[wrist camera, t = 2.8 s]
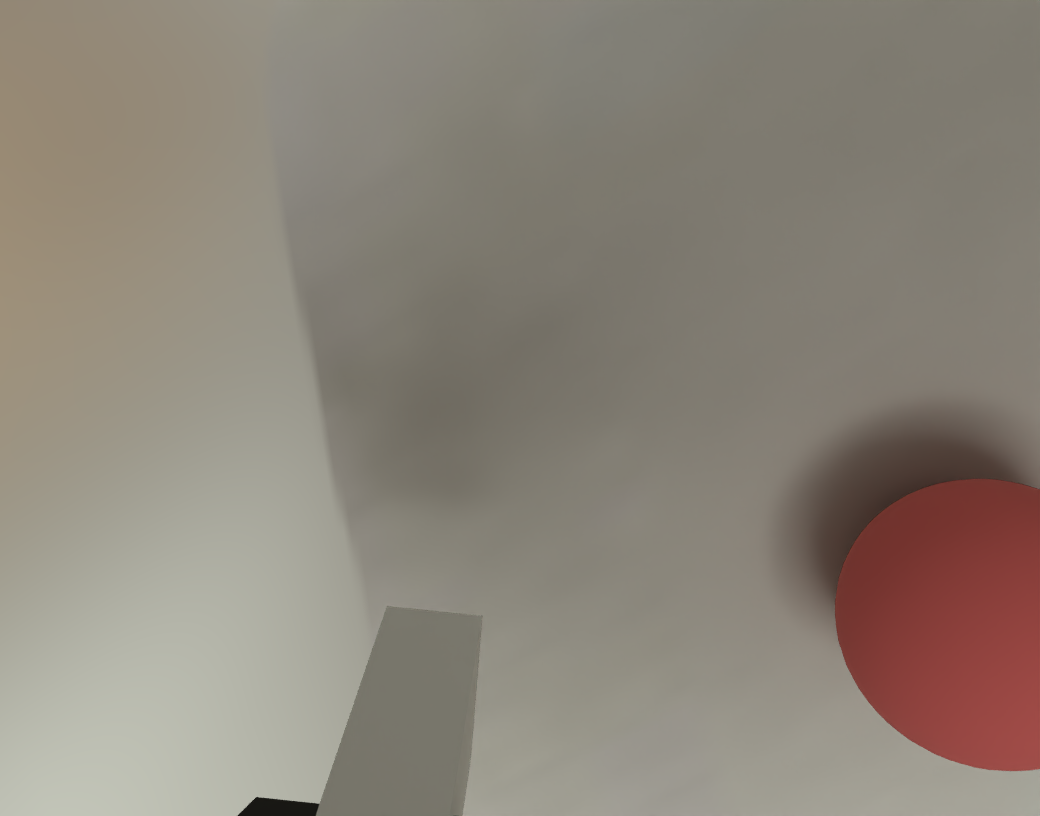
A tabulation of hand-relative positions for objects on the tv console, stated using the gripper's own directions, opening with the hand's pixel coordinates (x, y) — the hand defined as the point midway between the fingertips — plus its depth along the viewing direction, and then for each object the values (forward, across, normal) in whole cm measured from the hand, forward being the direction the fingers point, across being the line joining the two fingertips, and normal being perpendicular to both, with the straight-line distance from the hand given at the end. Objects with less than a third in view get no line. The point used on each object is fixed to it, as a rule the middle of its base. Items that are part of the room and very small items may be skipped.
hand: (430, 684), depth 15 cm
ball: (+4, +10, 0) cm, 11 cm away
